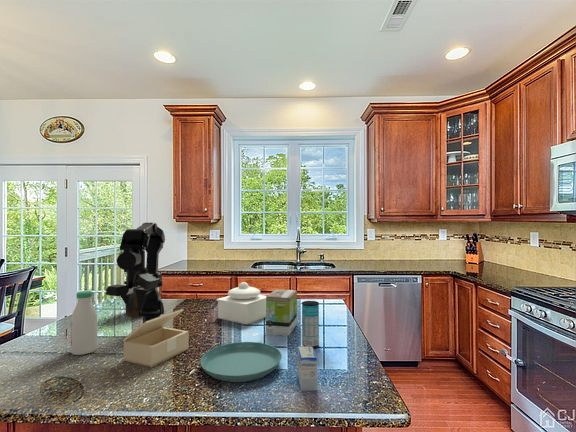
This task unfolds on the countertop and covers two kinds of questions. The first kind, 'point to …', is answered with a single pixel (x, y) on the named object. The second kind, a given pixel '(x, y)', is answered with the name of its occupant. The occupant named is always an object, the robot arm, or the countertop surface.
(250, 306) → the white square canister
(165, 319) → the lid
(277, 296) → the tea box
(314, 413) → the countertop surface
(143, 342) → the cardboard box
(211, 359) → the green plate
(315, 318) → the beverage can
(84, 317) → the milk bottle
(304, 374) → the medicine box
